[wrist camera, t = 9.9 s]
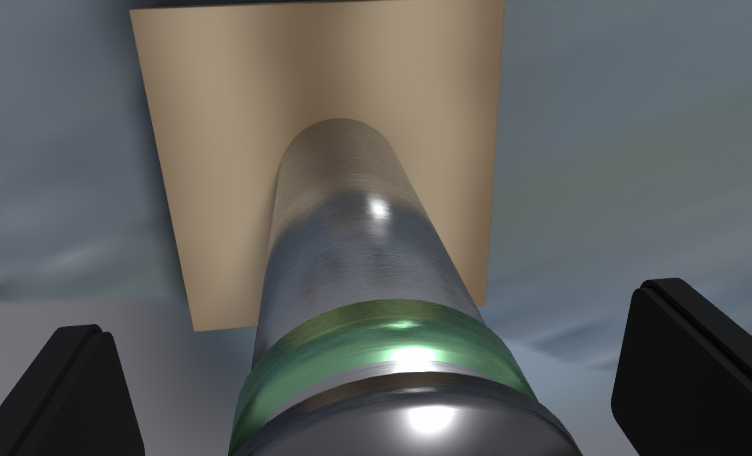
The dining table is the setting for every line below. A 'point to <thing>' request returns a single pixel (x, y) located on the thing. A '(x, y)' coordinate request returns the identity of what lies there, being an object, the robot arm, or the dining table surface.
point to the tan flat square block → (309, 106)
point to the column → (374, 324)
